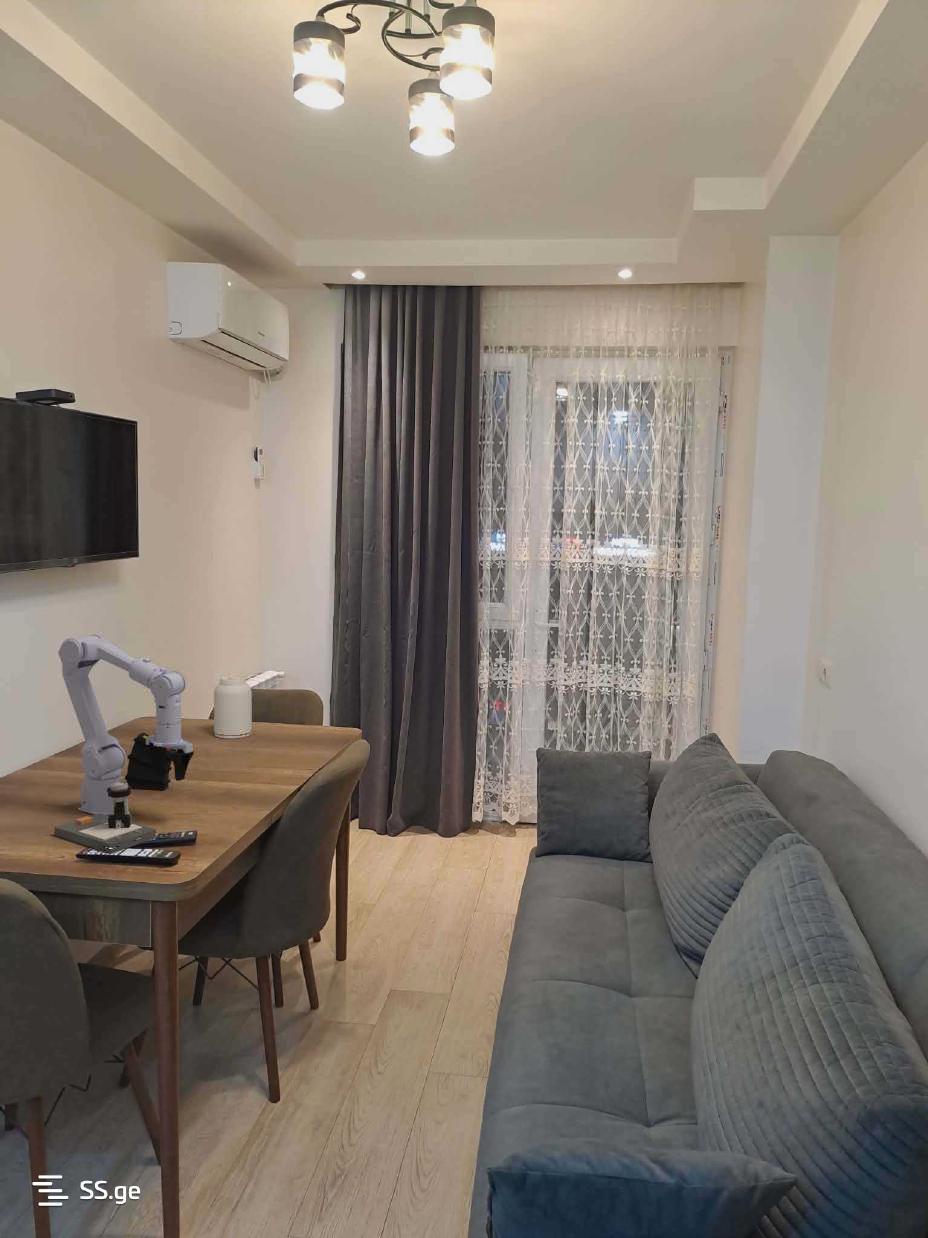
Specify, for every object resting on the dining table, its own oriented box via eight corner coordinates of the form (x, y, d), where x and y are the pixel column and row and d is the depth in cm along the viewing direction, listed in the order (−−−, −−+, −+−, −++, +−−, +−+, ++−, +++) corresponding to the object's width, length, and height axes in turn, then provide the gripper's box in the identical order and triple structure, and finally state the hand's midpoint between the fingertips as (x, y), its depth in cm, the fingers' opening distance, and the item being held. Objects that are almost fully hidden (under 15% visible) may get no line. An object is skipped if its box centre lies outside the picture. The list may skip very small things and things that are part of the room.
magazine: (120, 778, 244) (142, 731, 242) (162, 801, 243) (184, 754, 241) (113, 782, 240) (136, 734, 238) (156, 805, 239) (178, 757, 237)
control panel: (54, 835, 203) (54, 823, 203) (100, 821, 213) (99, 810, 213) (111, 853, 193) (110, 841, 193) (155, 838, 203) (155, 826, 203)
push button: (99, 831, 200) (98, 788, 199) (104, 823, 206) (103, 781, 205) (129, 830, 202) (129, 787, 201) (134, 822, 207) (133, 780, 206)
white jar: (215, 731, 309) (215, 674, 307) (252, 730, 311) (252, 674, 309) (212, 739, 297) (212, 680, 295) (250, 739, 299) (250, 680, 297)
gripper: (135, 721, 214) (136, 776, 216) (175, 729, 207) (176, 786, 208) (158, 716, 220) (159, 769, 222) (199, 724, 213) (199, 779, 214)
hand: (169, 777), depth 215 cm, fingers open, 7 cm apart
